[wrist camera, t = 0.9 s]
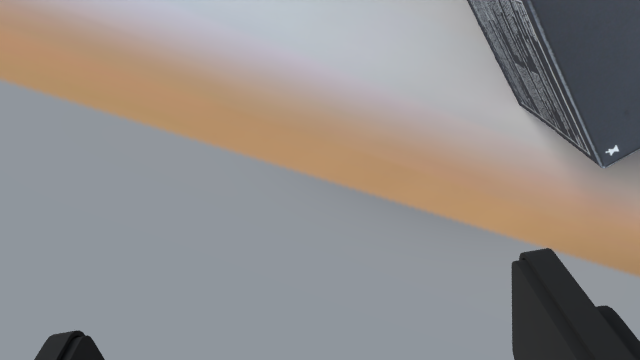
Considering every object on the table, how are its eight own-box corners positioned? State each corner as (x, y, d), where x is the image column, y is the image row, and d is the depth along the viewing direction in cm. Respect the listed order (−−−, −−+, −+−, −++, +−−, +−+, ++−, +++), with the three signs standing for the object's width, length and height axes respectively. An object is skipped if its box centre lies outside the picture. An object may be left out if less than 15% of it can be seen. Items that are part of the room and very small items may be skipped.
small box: (608, 55, 32) (731, 107, 23) (518, 107, 34) (599, 177, 24) (550, -95, 28) (673, -105, 18) (451, -26, 29) (518, -3, 20)
